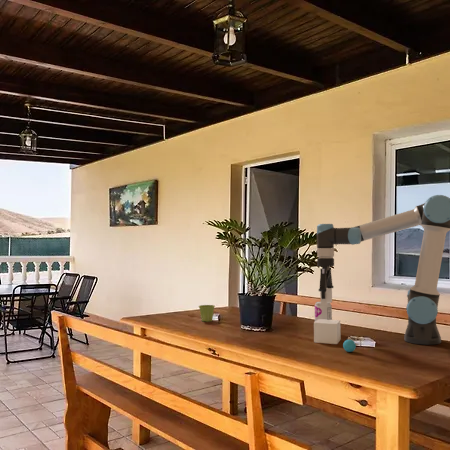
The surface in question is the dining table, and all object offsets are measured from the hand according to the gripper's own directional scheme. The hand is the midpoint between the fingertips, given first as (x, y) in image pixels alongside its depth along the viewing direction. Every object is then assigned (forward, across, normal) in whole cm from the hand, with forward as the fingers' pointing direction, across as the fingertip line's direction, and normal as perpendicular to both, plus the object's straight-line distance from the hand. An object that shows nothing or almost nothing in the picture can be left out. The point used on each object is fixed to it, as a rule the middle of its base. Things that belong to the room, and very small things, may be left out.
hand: (326, 304), depth 213 cm
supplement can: (+17, -18, -5) cm, 25 cm away
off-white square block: (+17, 0, 0) cm, 17 cm away
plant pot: (+16, -31, -74) cm, 82 cm away
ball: (+14, +18, +12) cm, 26 cm away
